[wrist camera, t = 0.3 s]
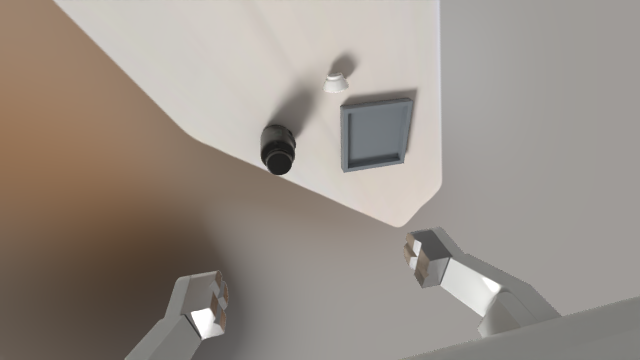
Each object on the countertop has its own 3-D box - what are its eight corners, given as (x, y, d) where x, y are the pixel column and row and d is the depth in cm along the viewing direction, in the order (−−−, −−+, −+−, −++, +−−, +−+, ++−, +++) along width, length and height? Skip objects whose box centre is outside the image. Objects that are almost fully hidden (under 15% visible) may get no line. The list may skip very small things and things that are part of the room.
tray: (340, 106, 55) (343, 109, 53) (407, 97, 57) (413, 101, 55) (341, 167, 64) (343, 172, 62) (399, 158, 66) (403, 163, 64)
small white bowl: (321, 89, 53) (326, 95, 49) (320, 74, 51) (325, 79, 47) (344, 84, 53) (351, 90, 49) (343, 70, 51) (350, 75, 47)
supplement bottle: (291, 150, 59) (298, 178, 49) (262, 153, 58) (262, 181, 48) (290, 123, 55) (296, 146, 45) (258, 125, 54) (258, 149, 44)
